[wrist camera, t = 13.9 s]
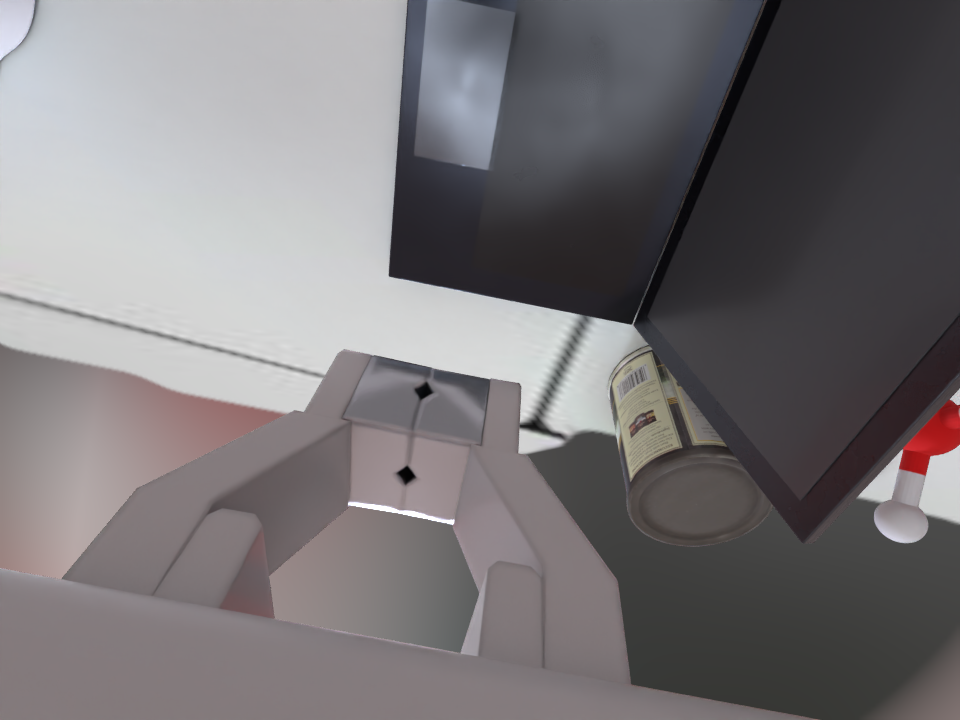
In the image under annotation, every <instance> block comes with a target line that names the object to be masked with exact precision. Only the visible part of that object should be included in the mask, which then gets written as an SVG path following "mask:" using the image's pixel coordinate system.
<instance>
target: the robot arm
mask: <svg viewBox="0 0 960 720" xmlns="http://www.w3.org/2000/svg"><path fill="white" fill-rule="evenodd" d="M34 8H35V0H0V60H1V59H2V58H3V57H4V56H5V55H7V54H8V53H9V52H11V51H12V50H13V49H15V48H16V47H17V46H18V45H19V44H20V43H21V42H22V41H23V39H24V38H25V36H26V35H27V32H28V30H29V28H30V25H31V23H32V19H33V15H34ZM520 404H521V386H520V384H519V383H515V382H509V381H503V380H497V379H485V378H480V377H475V376H470V375H465V374H459V373H454V372H449V371H444V370H438V369H433V368H430V367H426V366H421V365H417V364H412V363H408V362H403V361H398V360H394V359H389V358H385V357H380V356H376V355H374V356H372V355H370V354H365V353H360V352H355V351H350V350H345V349H344V350H342V351H341V352H339V353H338V354H337V356H336V358H335V359H334V361H333V363H332V365H331V366H330V368H329V370H328V371H327V373H326V375H325V377H324V378H323V380H322V382H321V383H320V385H319V387H318V389H317V390H316V392H315V394H314V396H313V397H312V399H311V401H310V402H309V404H308V406H307V408H306V409H305V411H304V412H301V411H295V410H294V411H292V412H290V413H288V414H286V415H284V416H282V417H280V418H279V419H276V420H274V421H272V422H270V423H268V424H266V425H264V426H262V427H260V428H258V429H256V430H254V431H252V432H250V433H248V434H246V435H244V436H242V437H240V438H238V439H236V440H234V441H232V442H230V443H228V444H226V445H224V446H222V447H220V448H217V449H216V450H213V451H212V452H209V453H207V454H205V455H203V456H201V457H199V458H197V459H195V460H193V461H191V462H189V463H187V464H185V465H184V466H181V467H179V468H177V469H175V470H173V471H171V472H169V473H167V474H165V475H163V476H161V477H159V478H157V479H155V480H153V481H151V482H149V483H147V484H145V485H143V486H141V487H139V488H137V489H136V490H135V491H134V492H133V494H132V495H131V496H130V497H129V499H128V500H127V501H126V502H125V503H124V504H123V506H122V507H121V508H120V509H119V510H118V512H117V513H116V514H115V515H114V516H113V518H112V519H111V520H110V521H109V522H108V524H107V525H106V526H105V527H104V528H103V530H102V531H101V532H100V533H99V534H98V536H97V537H96V538H95V539H94V540H93V541H92V543H91V544H90V545H89V546H88V547H87V549H86V550H85V551H84V552H83V554H82V555H81V556H80V557H79V558H78V559H77V561H76V562H75V563H74V564H73V565H72V567H71V568H70V569H69V570H68V571H67V573H66V574H65V575H64V576H63V577H62V579H57V578H52V577H46V576H41V575H35V574H31V573H25V572H20V571H14V570H9V569H3V568H0V720H818V719H812V718H807V717H802V716H796V715H791V714H785V713H780V712H774V711H769V710H763V709H758V708H753V707H748V706H742V705H736V704H732V703H726V702H721V701H715V700H710V699H705V698H698V697H694V696H688V695H683V694H677V693H672V692H667V691H661V690H656V689H650V688H645V687H639V686H635V685H631V680H630V673H629V665H628V657H627V651H626V643H625V634H624V627H623V619H622V611H621V604H620V596H619V589H618V582H617V579H616V578H615V577H614V575H613V574H612V572H611V571H610V570H609V568H608V567H607V566H606V564H605V563H604V561H603V560H602V559H601V557H600V556H599V554H598V553H597V552H596V550H595V549H594V547H593V546H592V545H591V543H590V542H589V541H588V539H587V538H586V536H585V535H584V534H583V532H582V531H581V529H580V528H579V527H578V525H577V524H576V522H575V521H574V520H573V518H572V517H571V516H570V514H569V513H568V511H567V510H566V509H565V507H564V506H563V505H562V503H561V502H560V500H559V499H558V497H557V496H556V495H555V494H554V492H553V491H552V489H551V488H550V486H549V485H548V484H547V482H546V481H545V479H544V478H543V477H542V475H541V474H540V472H539V471H538V470H537V468H536V467H535V465H534V464H533V463H532V461H531V460H530V459H529V457H528V456H527V455H523V454H518V446H519V425H520ZM349 505H354V506H360V507H367V508H373V509H379V510H385V511H391V512H397V513H403V514H407V515H412V516H416V517H421V518H426V519H430V520H435V521H439V522H444V523H448V524H453V529H454V531H455V534H456V536H457V539H458V541H459V544H460V546H461V549H462V551H463V554H464V556H465V558H466V561H467V563H468V566H469V568H470V571H471V573H472V576H473V578H474V580H475V583H476V585H477V588H478V590H479V593H480V595H479V597H478V600H477V604H476V607H475V610H474V613H473V616H472V619H471V622H470V625H469V629H468V631H467V635H466V638H465V641H464V644H463V647H462V650H461V653H457V652H452V651H446V650H441V649H436V648H430V647H425V646H419V645H414V644H409V643H403V642H398V641H393V640H387V639H382V638H376V637H371V636H365V635H360V634H355V633H349V632H344V631H338V630H333V629H327V628H322V627H317V626H311V625H306V624H300V623H295V622H290V621H284V620H279V619H275V617H274V610H273V602H272V595H271V587H270V580H269V576H270V575H271V574H272V573H273V572H274V571H276V570H277V569H278V568H279V567H280V566H281V565H282V564H283V563H285V562H286V561H287V560H288V559H289V558H291V557H292V556H293V555H294V554H295V553H296V552H297V551H299V550H300V549H301V548H302V547H303V546H305V545H306V544H307V543H308V542H309V541H310V540H312V539H313V538H314V537H315V536H316V535H317V534H319V533H320V532H321V531H322V530H323V529H324V528H326V527H327V526H328V525H329V524H330V523H331V522H332V521H334V520H335V519H336V518H337V517H338V516H340V515H341V514H342V513H343V512H344V511H345V510H347V509H348V506H349Z"/></svg>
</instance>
